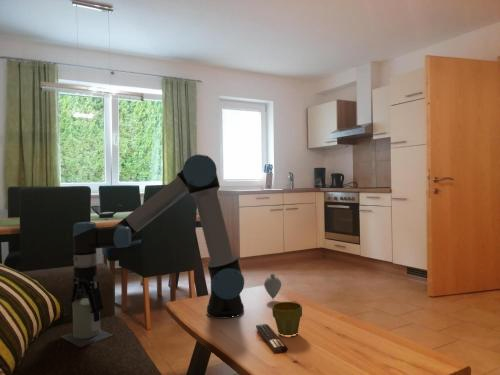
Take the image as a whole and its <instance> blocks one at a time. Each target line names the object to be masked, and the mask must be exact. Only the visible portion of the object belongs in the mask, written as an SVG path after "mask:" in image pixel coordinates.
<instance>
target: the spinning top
mask: <svg viewBox="0 0 500 375" xmlns="http://www.w3.org/2000/svg"><path fill="white" fill-rule="evenodd" d="M281 287H282V282H281V280H280V278H279V277H277V276H275V273H270V276H269V277H267V278H266V279H265V280H264V288H265V290H266V292H267V294H268V295H269V296H270V297H271V299H275V298H276V296H277V295H278V294H279V292H280V290H281V289H282V288H281Z"/></svg>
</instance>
